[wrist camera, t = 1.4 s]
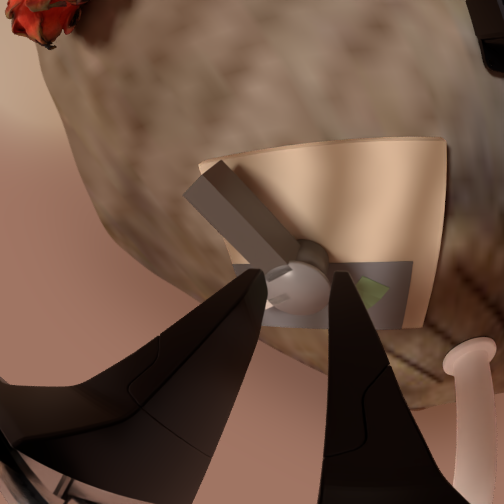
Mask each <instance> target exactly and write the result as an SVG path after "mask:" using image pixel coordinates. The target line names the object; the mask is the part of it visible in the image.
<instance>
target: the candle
mask: <svg viewBox="0 0 504 504" xmlns="http://www.w3.org/2000/svg"><path fill="white" fill-rule="evenodd" d="M495 353H496V344H495V342H494V340H493V339H491V338H488V337H478V338H473V339H470V340H467V341H465V342H463V343H461V344H459V345H458V346H456V347H455V348H453V349H452V350H451V351H450V352H449V353H448V354H447V355H446V356H445V358H444V360H443V369H444V371H445V373H447V374H448V375H452V376H454V378H455V390H456V408H457V444H456V462H455V473H454V481H453V487H454V488H455V489H456V490H457V491H458V492H459V493H460V494H461V495H462V496H463V497H464V498H465V499H466V500H467V501H468V502H469V503H470V504H492V503H493V496H494V488H495V479H496V465H497V464H496V463H497V424H496V409H495V399H494V390H493V383H492V376H491V370H490V365H489V362H490V361H491V360H492V359H493V357H494V356H495Z"/></svg>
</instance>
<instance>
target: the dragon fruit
mask: <svg viewBox="0 0 504 504" xmlns="http://www.w3.org/2000/svg"><path fill="white" fill-rule="evenodd" d="M88 1H89V0H9V1H8V3H7V5H8V7H7V8H6V10H5V15H6V17H7V18H8V19H12V32H13V33H14V34H16V35H19V36H24V37H27V38H29V39H30V40H32V41H34V42H36V43H39V44H40V45H41V46H45V48H47V49H48V50H52V49H54V48H56V46H55V45H54V46H51V44H52V42H54V41H55V40H56V38H57V37H58V36H60V34H61V32H62V29H64V33H65V34H66V35H67V34H70V33H71V32H72V31H73V28H75V27H74V26H75V25H76V24H77V23H76V22H78V21H79V20H80V16H81V9H80V12H78V13H79V16H78V13H76V12H77V11H78V10H79V7H80V5H84V4H86V2H88ZM75 14H76V16H75V19H74V21H73V22H72V19H73V17H74V15H75ZM69 26H70V27H69Z"/></svg>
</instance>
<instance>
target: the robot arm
mask: <svg viewBox="0 0 504 504" xmlns="http://www.w3.org/2000/svg"><path fill="white" fill-rule="evenodd" d="M466 4H467V7H468V10H469V14H470V17H471V20H472V24H473V27H474V31H475V35H476V36H477V37H478V40H479V45H480V49H481V54H482V59H483V63H484V65H485V67H486V68H487V69H489V70H493V71H498V72H502V73H504V0H466ZM489 59H490V60H491V62H492V66H491V65H490V64H489ZM267 298H268V288H267V284H266V279H265V275H264V272H263V270H262V269H258V268H249V269H247V270H246V271H244V272H243V273H242V274H240V275H239V276H238V277H236V278H235V279H234V280H232V281H231V282H230V283H228V284H227V285H226V286H224V287H223V288H222V289H220V290H219V291H218V292H216V293H215V294H214V295H212V296H211V297H210V298H208V299H207V300H206V301H204V302H203V303H202V304H200V305H199V306H197V307H196V308H195V309H194V310H192V311H191V312H189V313H188V314H187V315H185V316H184V317H183V318H181V319H180V320H179V321H177V322H176V323H174V324H173V325H172V326H170V327H169V328H168V329H166V330H165V331H164V332H162V333H161V334H160V336H157V337H155V338H154V339H153V340H151V341H150V342H148V343H147V344H146V345H144V346H143V347H141V348H140V349H138V350H137V351H136V352H134V353H132V354H131V355H129V356H128V357H126V358H125V359H123V360H121V361H120V362H118V363H116V364H115V365H113V366H111V367H110V368H108V369H106V370H105V371H103V372H101V373H100V374H98V375H96V376H94V377H93V378H91V379H89V380H87V381H86V382H83V383H81V384H78V385H74V386H65V387H45V386H17V385H10V384H8V383H7V382H6V381H5V380H4V379H3V378H1V377H0V492H1V493H2V495H3V496H4V498H5V500H6V501H7V502H8V504H192V502H193V500H194V498H195V496H196V494H197V491H198V489H199V487H200V484H201V482H202V480H203V477H204V475H205V473H206V471H207V469H208V466H209V464H210V461H211V459H212V457H213V454H214V452H215V449H216V447H217V445H218V442H219V439H220V437H221V435H222V432H223V430H224V427H225V425H226V423H227V420H228V418H229V415H230V412H231V410H232V408H233V405H234V402H235V400H236V397H237V395H238V392H239V390H240V387H241V385H242V382H243V379H244V377H245V374H246V371H247V368H248V366H249V363H250V361H251V358H252V355H253V353H254V350H255V347H256V344H257V341H258V338H259V334H260V329H261V325H262V320H263V316H264V311H265V307H266V302H267ZM328 334H329V347H328V392H327V413H326V428H325V440H324V452H323V461H322V471H321V479H320V487H319V494H318V500H317V504H470V503H469V502H468V501H467V500H466V499H465V498H464V497H463V496H462V495H461V494H460V493H459V492H458V491H457V490H456V489H455V488H454V487H453V486H452V485H451V484H450V483H449V482H448V481H447V480H446V478H445V477H444V476H443V474H442V473H441V471H440V470H439V468H438V466H437V464H436V462H435V460H434V458H433V457H432V454H431V452H430V450H429V448H428V446H427V444H426V442H425V440H424V438H423V435H422V433H421V431H420V429H419V427H418V425H417V423H416V422H415V419H414V417H413V416H412V414H411V411H410V409H409V407H408V405H407V403H406V401H405V399H404V397H403V394H402V392H401V389H400V387H399V385H398V382H397V380H396V377H395V375H394V372H393V370H392V367H391V366H390V365H389V364H390V362H389V360H388V357H387V355H386V353H385V350H384V348H383V345H382V343H381V341H380V338H379V336H378V333H377V331H376V329H375V327H374V324H373V322H372V320H371V318H370V315H369V313H368V311H367V309H366V307H365V304H364V302H363V300H362V298H361V296H360V294H359V292H358V289H357V287H356V285H355V283H354V281H353V279H352V277H351V275H350V273H349V272H348V271H335V272H334V273H333V279H332V284H331V290H330V295H329V301H328Z"/></svg>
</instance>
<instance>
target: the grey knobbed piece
mask: <svg viewBox="0 0 504 504" xmlns="http://www.w3.org/2000/svg"><path fill="white" fill-rule="evenodd" d="M183 196H184V197H185V198H186V199H187V200H188V201H189V202H190V203H191V204H192V206H193V207H194V208H195V209H196V210H197V211H198V212H199V213H200V214H201V215H202V216H203V217H204V218H205V219H206V220H207V221H208V222H209V223H210V224H211V225H212V226H213V227H214V228H215V229H216V230H217V231H218V232H219V233H220V234H221V235H222V236H223V237H224V238H225V239H226V240H227V241H228V242H229V243H230V244H231V245H232V246H233V247H234V248H235V249H236V250H237V251H238V252H239V253H240V254H241V255H242V256H243V257H244V258H245V259H246V260H247V261H248V262H249V263H250V264H251V265H252V266H253V267H254V268H258V269H262V270H263V272H264V275H265V279H266V284H267V288H268V298H267V302H266V307H265V309H268V308H270V307H272V306H274V307H276V308H277V309H279V310H281V311H283V312H286V313H289V314H293V315H311V314H314V313H317V312H319V311H321V310H322V309H323V308H325V306H326V305H327V304H328V301H329V295H330V290H331V286H330V283H329V280H328V279H327V273H328V266H329V257H328V254H327V253H326V251H325V250H324V249H323V247H321V246H320V245H319V244H317V243H315V242H313V241H310V240H305V239H298V240H296V239H295V238H294V237H293V236H292V235H291V234H290V233H289V232H288V230H287V229H286V228H285V227H284V226H283V225H282V224H281V223H280V222H279V220H278V219H277V218H276V217H275V216H274V215H273V214H272V213H271V212H270V211H269V209H268V208H267V207H266V206H265V205H264V204H263V203H262V202H261V201H260V200H259V199H258V197H257V196H256V195H255V194H254V193H253V192H252V191H251V190H250V189H249V188H248V187H247V186H246V185H245V184H244V182H243V181H242V180H241V179H240V178H239V177H238V176H237V175H236V174H235V173H234V172H233V171H232V170H231V169H230V168H229V167H228V166H227V165H226V164H225V163H224V161H223V160H222V159H221V160H220V161H218V162H217V163H216V164H215V165H213V166H212V167H211V168H209V169H208V170H207V171H206V172H204V173H203V174H202V175H201V176H200V177H199V178H198V179H197V180H196V181H195V182H194V183H193V184H192V185H191V186H190V188H189V189H188V190H187V191H186V192H185V193H184V194H183Z"/></svg>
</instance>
